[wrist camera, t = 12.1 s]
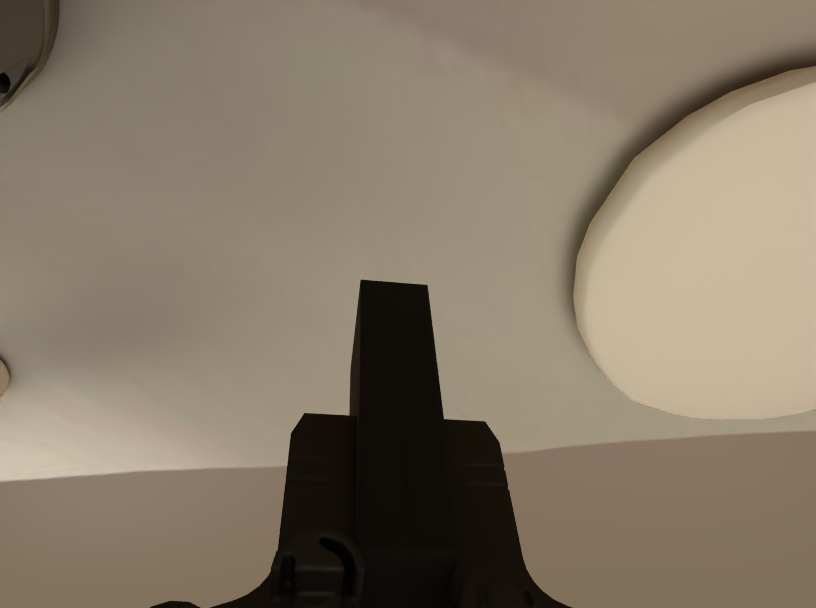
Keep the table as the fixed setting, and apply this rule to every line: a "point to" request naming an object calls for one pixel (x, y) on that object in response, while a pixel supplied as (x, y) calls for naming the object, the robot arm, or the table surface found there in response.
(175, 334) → the table surface
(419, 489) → the robot arm
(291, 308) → the table surface
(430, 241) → the table surface
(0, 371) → the drinking glass
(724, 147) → the plate
